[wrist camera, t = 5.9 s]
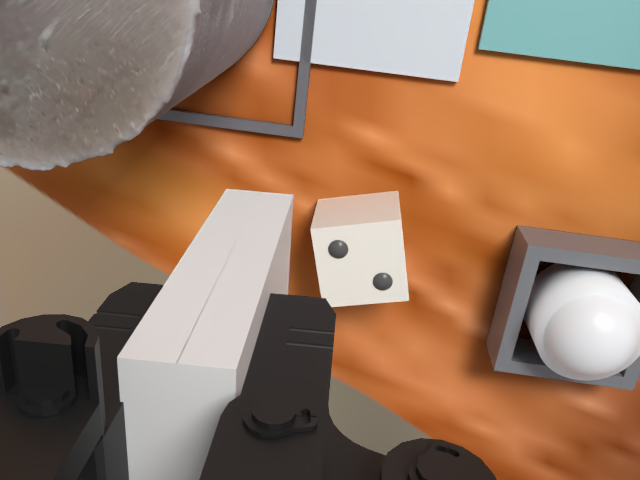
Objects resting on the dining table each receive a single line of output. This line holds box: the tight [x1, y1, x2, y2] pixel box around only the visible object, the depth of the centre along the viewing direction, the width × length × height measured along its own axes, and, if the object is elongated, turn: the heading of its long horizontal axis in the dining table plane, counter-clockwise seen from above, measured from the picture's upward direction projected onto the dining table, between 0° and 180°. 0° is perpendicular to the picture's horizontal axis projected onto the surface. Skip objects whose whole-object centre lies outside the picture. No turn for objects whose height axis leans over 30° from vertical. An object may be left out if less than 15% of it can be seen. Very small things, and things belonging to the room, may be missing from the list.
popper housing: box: [486, 225, 640, 390], centre depth 30 cm, size 7×7×2 cm
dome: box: [523, 263, 640, 381], centre depth 29 cm, size 5×5×5 cm
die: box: [310, 191, 409, 307], centre depth 29 cm, size 4×4×4 cm
